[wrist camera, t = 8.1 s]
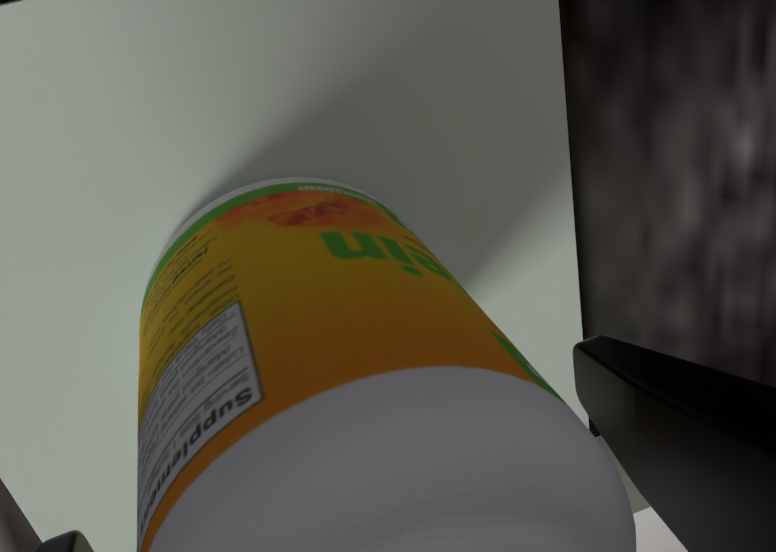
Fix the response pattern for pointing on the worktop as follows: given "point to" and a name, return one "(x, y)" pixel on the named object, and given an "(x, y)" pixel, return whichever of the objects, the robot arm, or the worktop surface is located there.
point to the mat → (247, 166)
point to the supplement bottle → (347, 396)
